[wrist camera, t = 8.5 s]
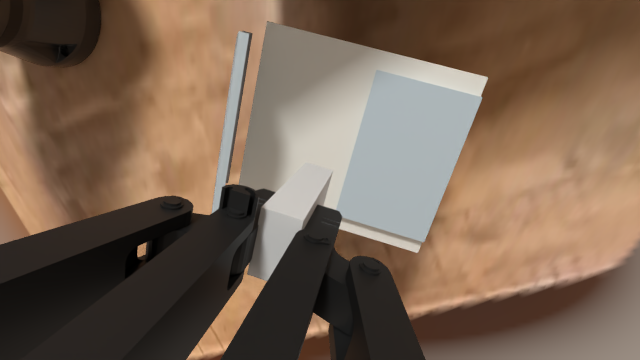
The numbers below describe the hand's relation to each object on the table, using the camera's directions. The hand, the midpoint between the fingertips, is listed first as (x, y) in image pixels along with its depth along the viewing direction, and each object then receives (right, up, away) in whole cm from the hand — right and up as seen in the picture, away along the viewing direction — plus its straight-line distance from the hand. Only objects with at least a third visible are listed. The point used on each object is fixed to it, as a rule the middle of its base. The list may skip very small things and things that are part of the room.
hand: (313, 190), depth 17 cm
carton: (+5, +8, +24) cm, 26 cm away
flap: (-7, +6, +11) cm, 15 cm away
